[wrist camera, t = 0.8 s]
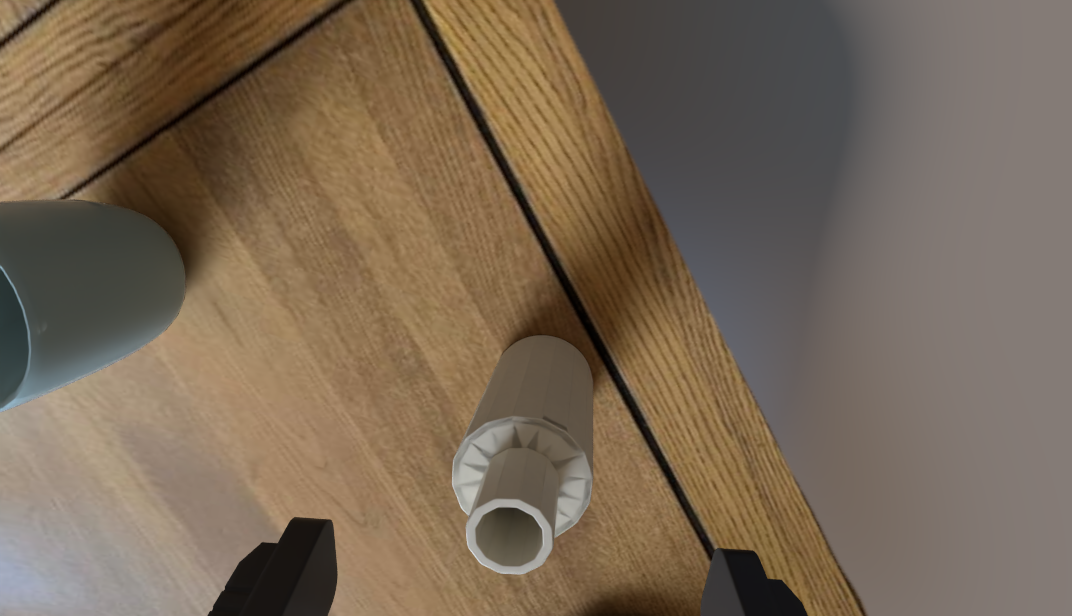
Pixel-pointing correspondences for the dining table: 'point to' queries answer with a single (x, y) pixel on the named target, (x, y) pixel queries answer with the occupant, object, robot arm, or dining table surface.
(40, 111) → the dining table surface
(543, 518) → the white faceted vase
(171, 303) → the cup
